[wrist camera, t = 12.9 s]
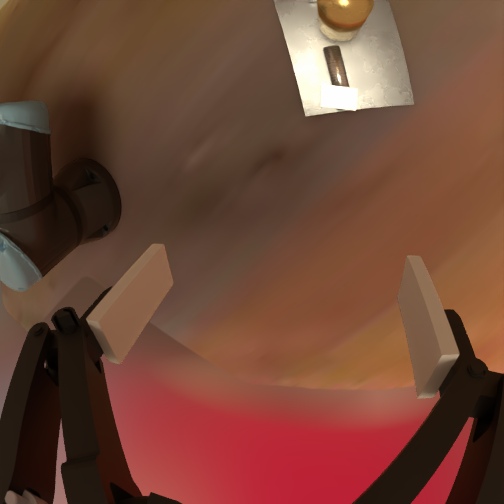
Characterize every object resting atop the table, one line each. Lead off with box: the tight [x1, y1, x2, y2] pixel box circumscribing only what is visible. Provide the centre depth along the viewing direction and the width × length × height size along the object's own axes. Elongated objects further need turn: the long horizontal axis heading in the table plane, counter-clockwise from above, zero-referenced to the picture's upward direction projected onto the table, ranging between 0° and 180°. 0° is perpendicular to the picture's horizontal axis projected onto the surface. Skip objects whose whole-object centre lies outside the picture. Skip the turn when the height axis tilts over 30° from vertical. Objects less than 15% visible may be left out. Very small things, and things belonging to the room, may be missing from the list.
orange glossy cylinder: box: [317, 0, 374, 41], centre depth 22 cm, size 5×5×11 cm
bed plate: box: [274, 0, 414, 116], centre depth 26 cm, size 23×14×5 cm, turn 15°
